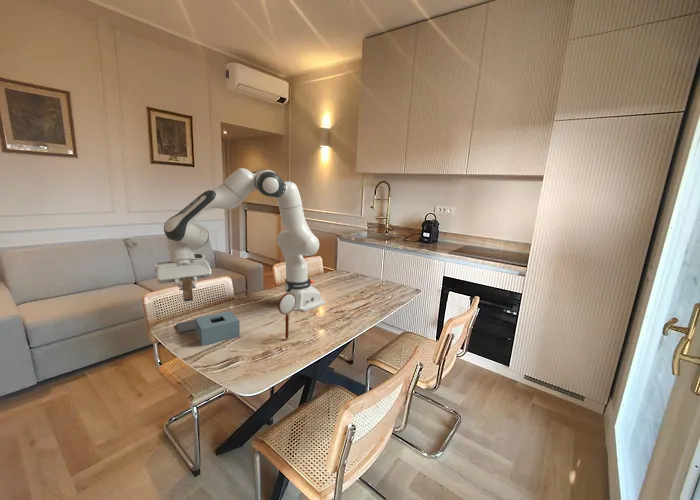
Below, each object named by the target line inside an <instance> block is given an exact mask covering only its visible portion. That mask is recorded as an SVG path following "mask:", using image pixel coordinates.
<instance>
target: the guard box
mask: <svg viewBox="0 0 700 500" xmlns="http://www.w3.org/2000/svg"><path fill="white" fill-rule="evenodd" d="M194 320H196V331H195V334H196V336H197V339H198V340H199V342H200V344H201V347H204V346H209V345H212V344H216V343H219V342H224V341H227V340H232V339H235V338H239V337H240V336H241V335H240V334H241V333H240V329H241V328H240V320H239V318H238V317H237V316H236V315H235V314H234V312H232V310H229V311H224V312H219V313H215V314H209V315H205V316H200V317H199V316H198V317H195V319H194Z"/></svg>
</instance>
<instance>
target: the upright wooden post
mask: <svg viewBox="0 0 700 500" xmlns="http://www.w3.org/2000/svg"><path fill="white" fill-rule="evenodd" d="M181 282H182V285H183V287H184V290H182V296H183V298H182V299H183V301H184V303H186V302H193V301H194V296H193V293H194V292H193V289H192V283H193V280H191V278H186V279H182V281H181Z"/></svg>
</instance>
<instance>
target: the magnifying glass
mask: <svg viewBox="0 0 700 500" xmlns="http://www.w3.org/2000/svg"><path fill="white" fill-rule="evenodd" d="M295 304H296V298H295V296H294V295H293V294H292V293H287V294H283V295H282V296H281V297H280V299H279V300H278V304H277V308H278V311H279V313H281V315H285V333H284V334H285V340H286V341H287V340H289V331H290V330H289V329H290V328H289V324H290V322H289V321H290V320H289V319H290V317H289V316H290V315H289V314H290V313H291V312H292V311H294V310H293V309H294V307H295Z"/></svg>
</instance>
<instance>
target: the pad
mask: <svg viewBox="0 0 700 500" xmlns="http://www.w3.org/2000/svg"><path fill="white" fill-rule="evenodd" d="M175 325H176V328H177V331H178V334H179V335H185V334H187V333H193V332H196V320H195V319H192V320H191V319H190V320H188V321H181V322H177V323H175Z"/></svg>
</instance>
